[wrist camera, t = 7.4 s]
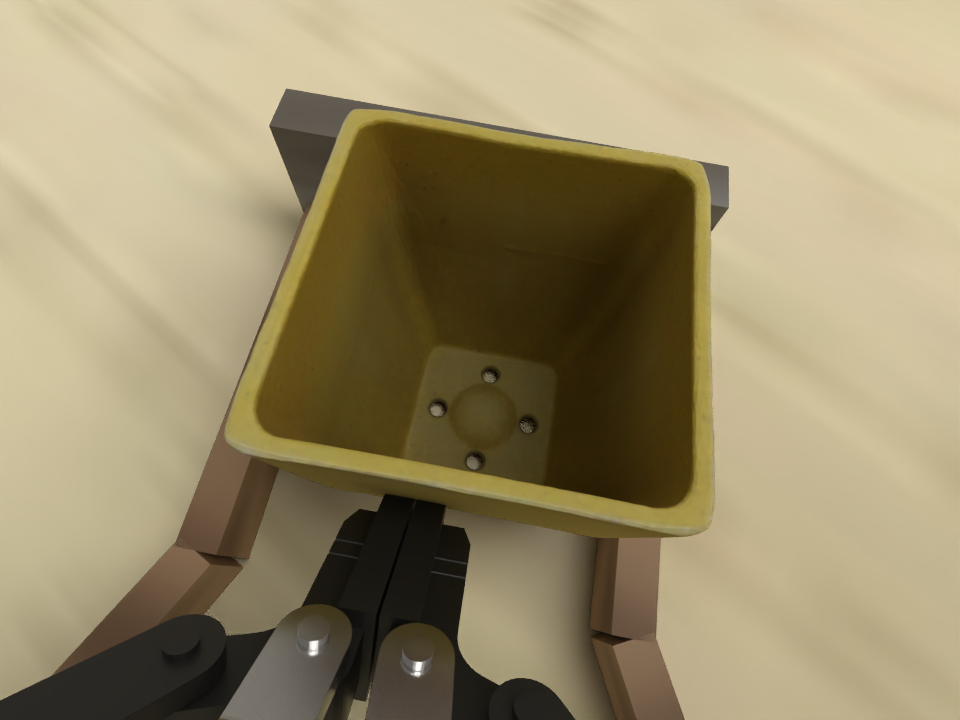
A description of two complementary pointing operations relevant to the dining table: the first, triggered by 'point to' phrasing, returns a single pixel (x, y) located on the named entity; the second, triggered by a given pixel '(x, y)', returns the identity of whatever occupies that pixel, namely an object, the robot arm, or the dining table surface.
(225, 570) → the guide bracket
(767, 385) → the dining table surface
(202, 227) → the dining table surface
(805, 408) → the dining table surface
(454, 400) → the flower pot
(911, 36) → the dining table surface
